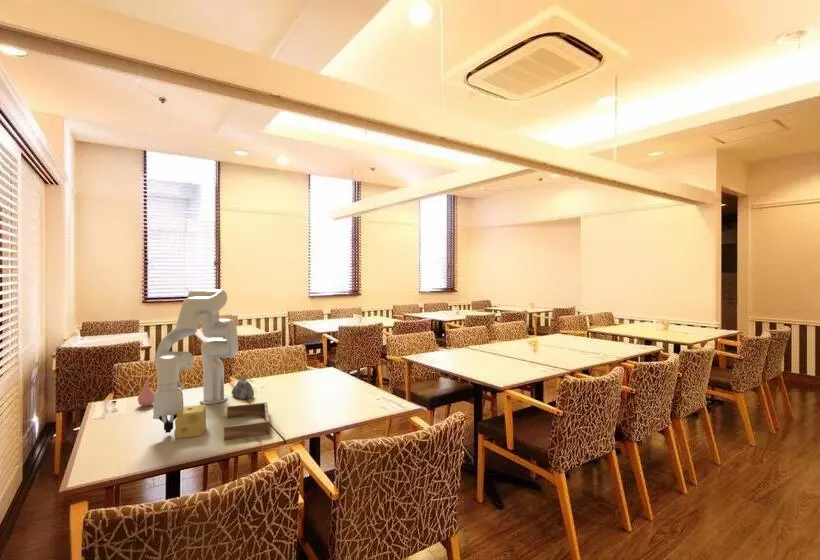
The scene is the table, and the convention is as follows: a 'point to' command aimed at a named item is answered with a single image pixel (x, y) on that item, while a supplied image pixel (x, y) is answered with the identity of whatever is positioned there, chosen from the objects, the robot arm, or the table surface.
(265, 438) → the table surface
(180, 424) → the cheese
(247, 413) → the wooden u-shaped bracket
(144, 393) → the pink rounded piece
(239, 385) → the mineral rock
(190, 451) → the table surface
